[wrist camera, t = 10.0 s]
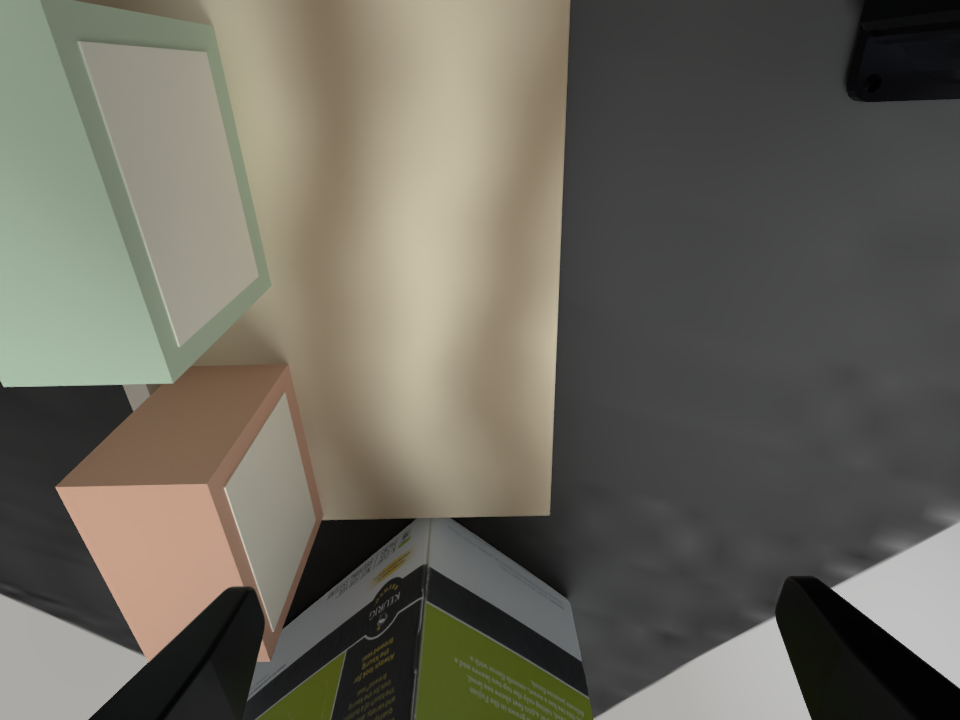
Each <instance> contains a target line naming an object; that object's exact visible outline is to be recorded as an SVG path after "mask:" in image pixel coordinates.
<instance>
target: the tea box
mask: <svg viewBox="0 0 960 720" xmlns="http://www.w3.org/2000/svg"><path fill="white" fill-rule="evenodd" d="M242 720H593V717H592V711H591V706H590V701H589V696H588V689H587V684H586V678H585V673H584V669H583V664H582V659H581V654H580V648H579V643H578V639H577V634H576V630H575V625H574V620H573V615H572V610H571V605H570V602H569V601H568V600H567V599H565V597H564V596H562V595H561V594H560V593H558V592H557V591H555V590H554V589H553V588H551V587H550V586H548V585H547V584H546V583H544V582H543V581H541V580H540V579H539V578H537V577H536V576H534V575H533V574H531V573H530V572H529V571H527V570H526V569H524V568H523V567H521V566H520V565H519V564H517V563H516V562H514V561H513V560H511V559H510V558H508V557H507V556H506V555H504V554H503V553H501V552H500V551H498V550H497V549H495V548H494V547H492V546H491V545H489V544H488V543H486V542H485V541H484V540H482V539H481V538H480V537H478V536H477V535H475V534H474V533H472V532H471V531H469V530H468V529H467V528H465V527H464V526H462V525H460V524H459V523H457V522H456V521H454V520H453V519H451V518H417V519H416V520H414V521H413V522H412V523H411V524H409V525H408V526H407V527H406V528H405V529H404V530H403V531H401V532H400V533H399V534H398V535H396V536H395V537H394V538H393V539H391V540H390V541H389V542H388V543H387V544H385V545H384V546H383V547H382V548H381V549H379V550H378V551H377V552H376V553H375V554H373V555H372V556H371V557H370V558H368V559H367V560H366V561H365V562H364V563H362V564H361V565H360V566H359V567H358V568H356V569H355V570H354V571H353V572H352V573H350V574H349V575H348V576H347V577H345V578H344V579H343V580H342V581H341V582H339V583H338V584H337V585H336V586H334V587H333V588H332V589H331V590H330V591H328V592H327V593H326V594H325V595H323V596H322V597H321V598H320V599H319V600H317V601H316V602H315V603H314V604H313V605H311V606H310V607H309V608H308V609H306V610H305V611H304V612H303V613H302V614H300V615H299V616H298V617H297V618H296V619H294V620H293V621H292V622H291V623H290V624H288V625H287V626H286V627H285V628H284V629H282V631H281V634H280V636H279V639H278V642H277V645H276V647H275V650H274V653H273V656H272V658H271V661H270V662H256V667H255V671H254V675H253V679H252V683H251V687H250V691H249V695H248V699H247V703H246V707H245V712H244V715H243V719H242Z"/></svg>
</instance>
